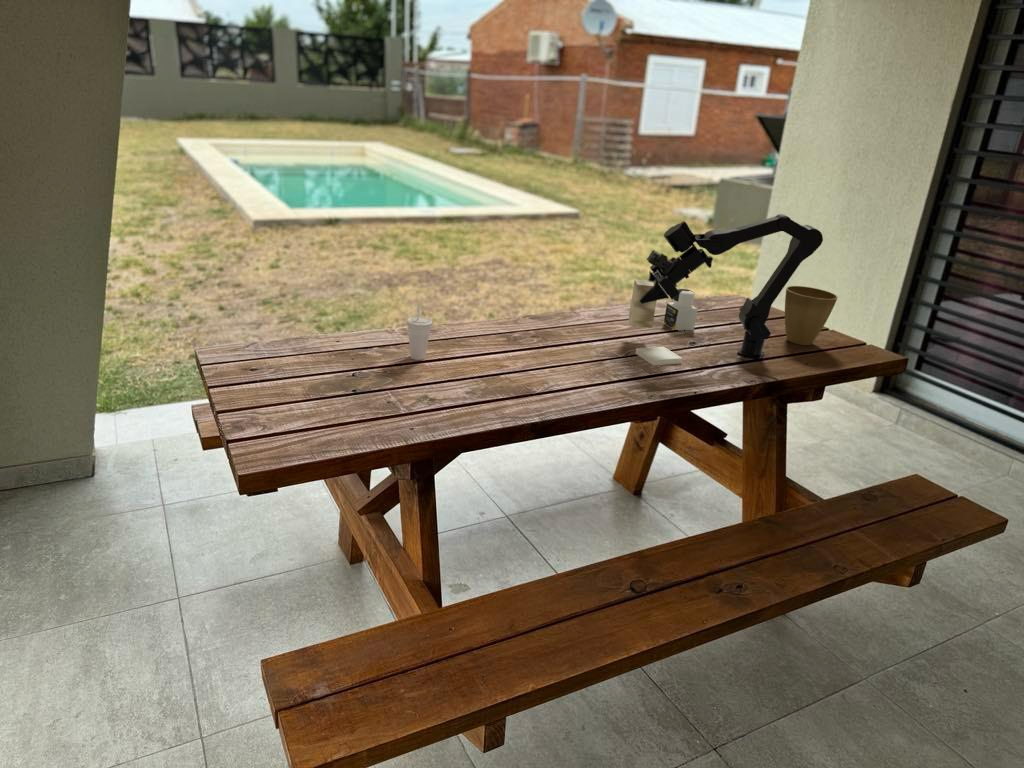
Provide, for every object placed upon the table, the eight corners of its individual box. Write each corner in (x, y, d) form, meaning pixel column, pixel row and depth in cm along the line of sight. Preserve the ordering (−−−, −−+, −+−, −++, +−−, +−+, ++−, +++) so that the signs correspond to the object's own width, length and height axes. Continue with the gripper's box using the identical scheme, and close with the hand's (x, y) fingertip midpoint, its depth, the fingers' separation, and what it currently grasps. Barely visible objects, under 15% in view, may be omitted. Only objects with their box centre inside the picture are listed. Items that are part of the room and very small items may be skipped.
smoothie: (415, 350, 191) (418, 298, 186) (435, 357, 189) (438, 304, 183) (399, 357, 186) (401, 303, 181) (420, 363, 183) (422, 309, 178)
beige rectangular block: (649, 321, 215) (655, 281, 210) (652, 327, 209) (659, 286, 205) (628, 319, 215) (634, 279, 210) (630, 325, 209) (637, 284, 205)
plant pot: (829, 352, 223) (843, 301, 217) (779, 345, 225) (791, 294, 219) (818, 337, 237) (831, 289, 231) (771, 331, 239) (782, 282, 232)
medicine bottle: (662, 323, 235) (669, 287, 230) (682, 323, 237) (689, 287, 233) (673, 331, 229) (680, 293, 224) (694, 330, 231) (701, 293, 226)
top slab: (662, 351, 207) (663, 346, 206) (681, 363, 199) (682, 358, 199) (635, 353, 203) (636, 348, 203) (653, 365, 196) (654, 360, 195)
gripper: (662, 235, 212) (618, 269, 216) (673, 249, 194) (625, 286, 199) (685, 265, 215) (641, 298, 219) (698, 281, 198) (650, 317, 202)
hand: (639, 299), depth 209 cm, fingers closed on beige rectangular block, 6 cm apart
